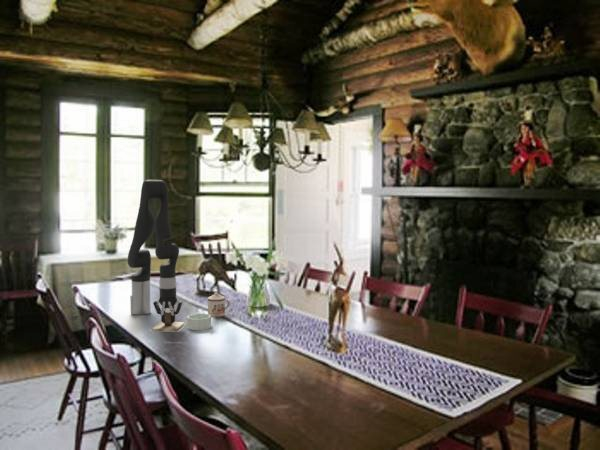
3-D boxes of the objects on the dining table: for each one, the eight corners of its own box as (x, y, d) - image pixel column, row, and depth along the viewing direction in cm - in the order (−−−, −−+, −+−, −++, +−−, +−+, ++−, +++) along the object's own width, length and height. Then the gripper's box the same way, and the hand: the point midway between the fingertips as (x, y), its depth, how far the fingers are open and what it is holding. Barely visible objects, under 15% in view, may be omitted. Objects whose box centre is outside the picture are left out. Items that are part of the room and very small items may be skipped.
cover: (151, 330, 236) (151, 315, 236) (160, 323, 248) (159, 309, 248) (177, 331, 236) (176, 316, 235) (184, 324, 248) (184, 309, 247)
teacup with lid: (212, 318, 261) (211, 295, 260) (204, 314, 268) (204, 292, 267) (233, 314, 267) (233, 292, 266) (225, 311, 275) (225, 289, 274)
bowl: (184, 330, 238) (184, 319, 238) (190, 324, 249) (190, 313, 248) (207, 331, 237) (207, 319, 237) (213, 324, 248) (212, 313, 248)
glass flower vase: (242, 305, 288) (242, 273, 286) (254, 300, 299) (254, 270, 298) (261, 308, 282) (261, 275, 280) (274, 303, 293) (274, 272, 292)
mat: (148, 332, 236) (148, 331, 235) (158, 323, 249) (158, 322, 249) (178, 333, 235) (178, 331, 235) (187, 324, 249) (187, 323, 249)
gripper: (150, 287, 237) (150, 324, 239) (180, 288, 236) (180, 325, 238) (155, 284, 245) (156, 320, 246) (185, 285, 244) (185, 321, 245)
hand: (168, 322), depth 242 cm, fingers closed on cover, 3 cm apart
